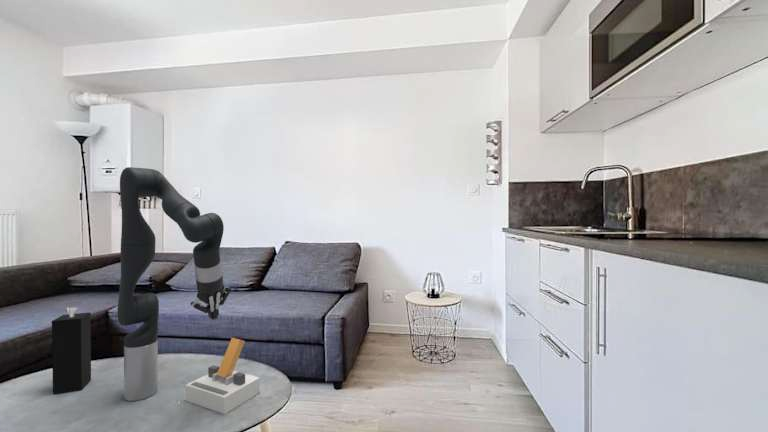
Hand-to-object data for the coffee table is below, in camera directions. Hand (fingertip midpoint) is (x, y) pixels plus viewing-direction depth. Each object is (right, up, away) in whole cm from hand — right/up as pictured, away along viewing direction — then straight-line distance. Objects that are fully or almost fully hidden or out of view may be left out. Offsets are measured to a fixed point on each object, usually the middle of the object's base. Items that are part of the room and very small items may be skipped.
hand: (214, 317), depth 114 cm
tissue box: (-52, -26, +6) cm, 59 cm away
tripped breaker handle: (+3, -19, 0) cm, 20 cm away
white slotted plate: (+3, -26, 0) cm, 26 cm away
